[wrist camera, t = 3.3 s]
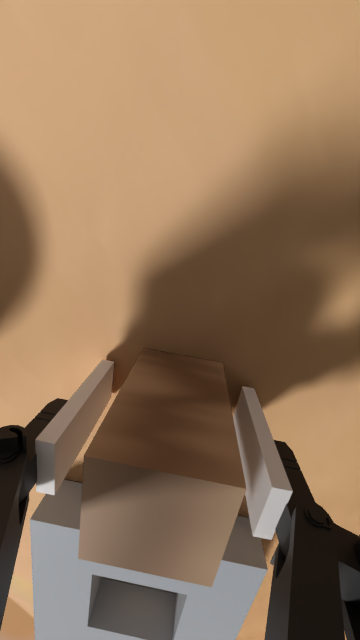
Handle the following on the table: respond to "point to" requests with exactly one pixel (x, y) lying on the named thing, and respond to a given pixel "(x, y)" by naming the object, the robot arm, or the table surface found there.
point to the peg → (164, 472)
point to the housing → (127, 599)
